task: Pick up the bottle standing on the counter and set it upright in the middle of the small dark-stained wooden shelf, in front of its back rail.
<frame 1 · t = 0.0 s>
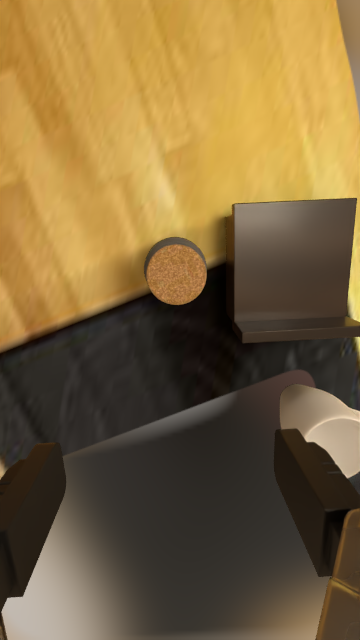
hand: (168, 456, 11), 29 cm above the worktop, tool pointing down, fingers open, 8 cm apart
bottle: (173, 261, 39), on the worktop
shelf: (276, 264, 39), on the worktop
mug: (306, 396, 44), on the worktop
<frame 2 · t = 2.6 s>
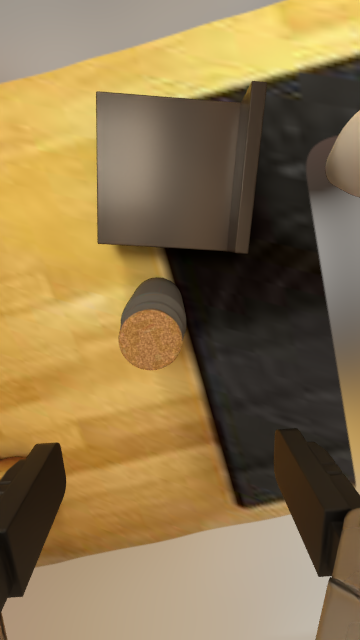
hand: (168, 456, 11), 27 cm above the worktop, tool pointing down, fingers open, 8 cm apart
bottle: (158, 300, 37), on the worktop
shelf: (171, 185, 34), on the worktop
mug: (347, 148, 34), on the worktop
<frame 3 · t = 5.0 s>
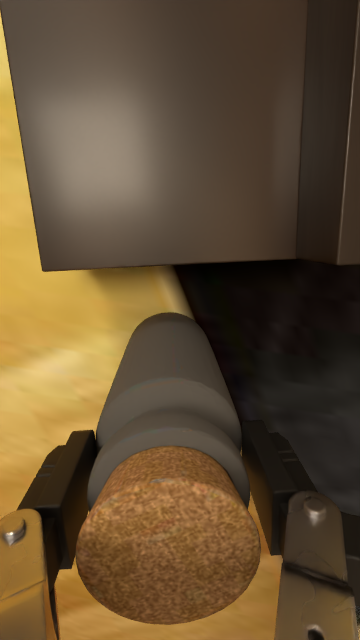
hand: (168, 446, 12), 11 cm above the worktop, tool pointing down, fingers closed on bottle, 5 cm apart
bottle: (168, 349, 22), on the worktop, touching gripper
shelf: (173, 150, 19), on the worktop
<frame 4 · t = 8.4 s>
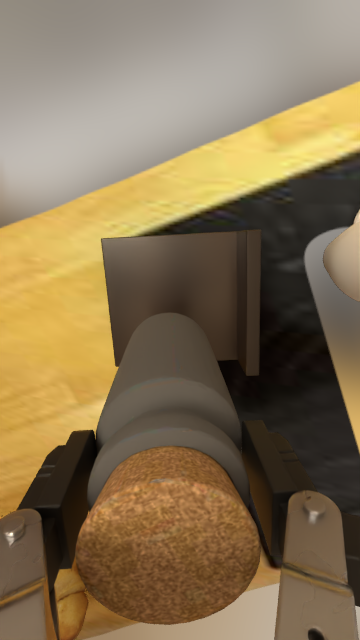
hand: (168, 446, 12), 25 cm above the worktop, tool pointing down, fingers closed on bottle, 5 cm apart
bottle: (169, 349, 22), point 14 cm above the worktop, touching gripper
shelf: (177, 293, 36), on the worktop
mug: (342, 240, 35), on the worktop
bread roll: (49, 561, 46), on the worktop
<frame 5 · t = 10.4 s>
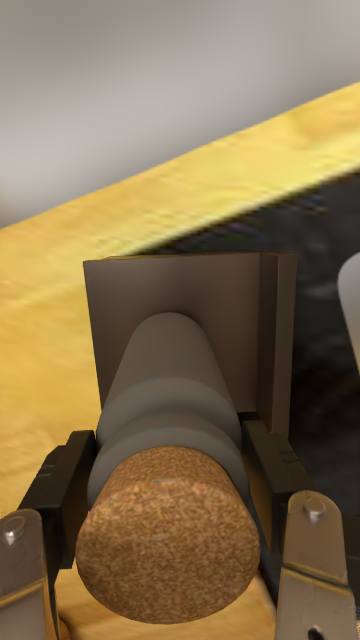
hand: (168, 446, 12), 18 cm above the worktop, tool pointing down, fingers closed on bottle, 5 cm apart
bottle: (169, 349, 22), point 7 cm above the worktop, touching gripper
shelf: (181, 323, 29), on the worktop
bread roll: (28, 630, 39), on the worktop
when the fingers open (16 cm above the worktop, at t = 11.6 s): bottle stays where it is, resting on shelf.
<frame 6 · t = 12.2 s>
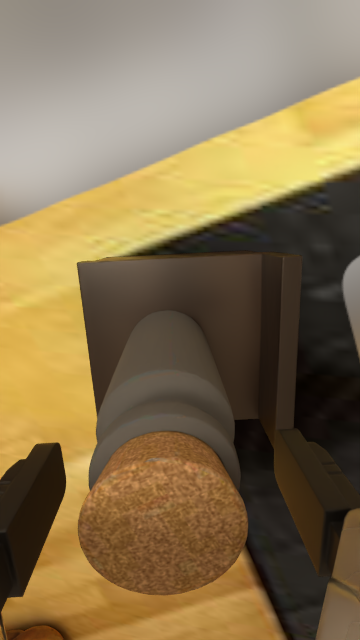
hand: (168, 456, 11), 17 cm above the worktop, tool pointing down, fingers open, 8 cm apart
bottle: (167, 346, 23), point 5 cm above the worktop, touching shelf
shelf: (180, 326, 28), on the worktop
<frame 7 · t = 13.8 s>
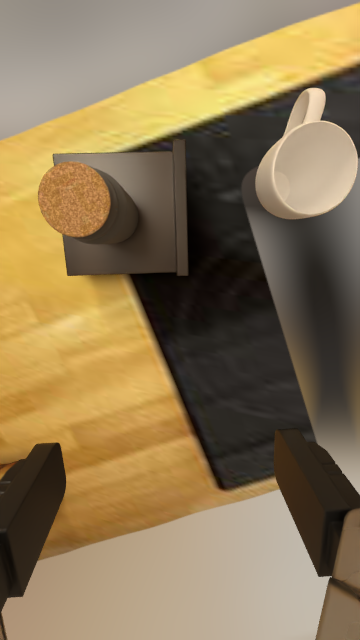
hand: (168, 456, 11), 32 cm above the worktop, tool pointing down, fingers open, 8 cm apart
bottle: (113, 216, 35), point 5 cm above the worktop, touching shelf
shelf: (128, 218, 40), on the worktop
mug: (275, 173, 39), on the worktop
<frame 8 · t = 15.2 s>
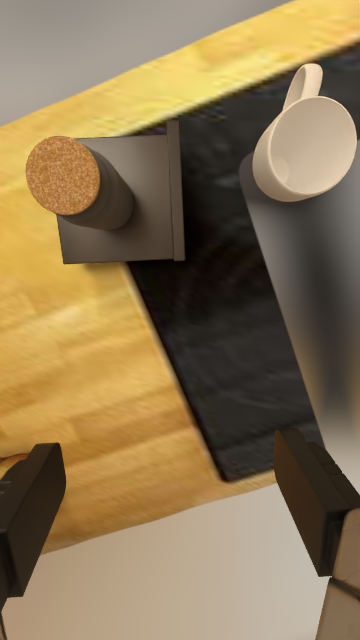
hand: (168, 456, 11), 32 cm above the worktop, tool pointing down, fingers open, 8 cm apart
bottle: (108, 202, 34), point 5 cm above the worktop, touching shelf
shelf: (124, 206, 39), on the worktop
mug: (273, 157, 39), on the worktop
bread roll: (15, 472, 49), on the worktop
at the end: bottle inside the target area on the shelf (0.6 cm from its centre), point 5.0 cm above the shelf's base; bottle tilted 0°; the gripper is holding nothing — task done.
